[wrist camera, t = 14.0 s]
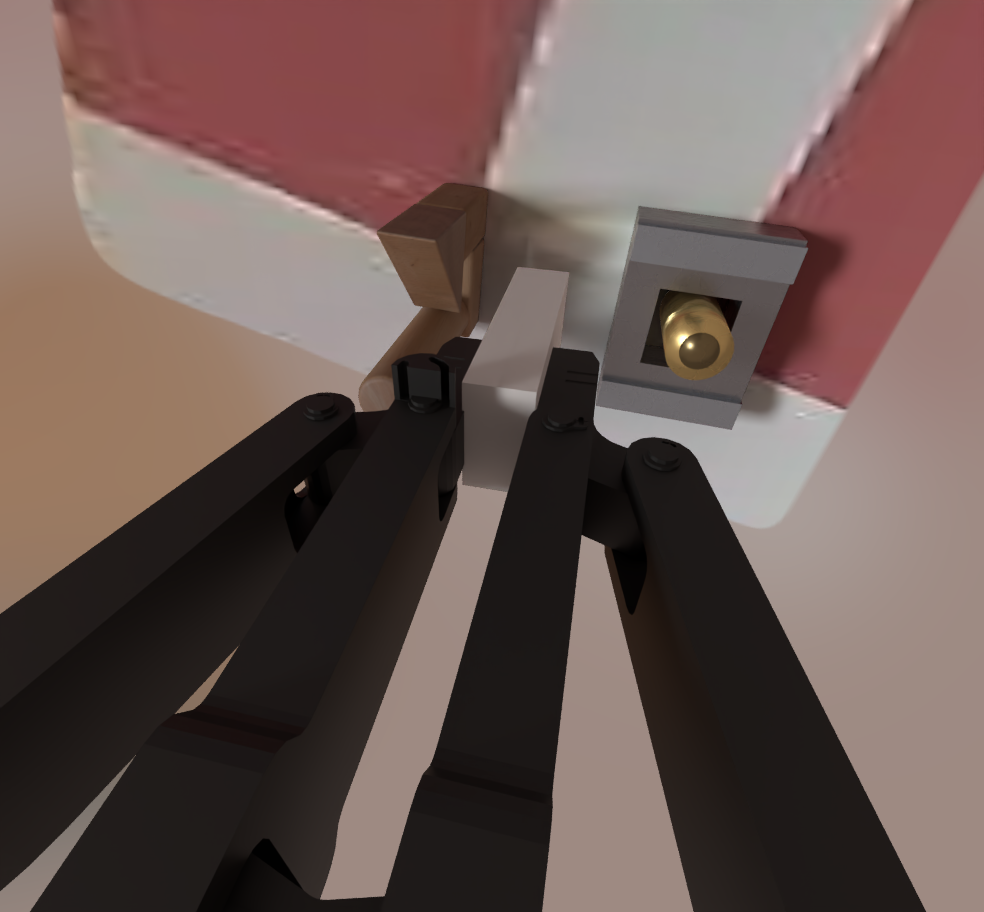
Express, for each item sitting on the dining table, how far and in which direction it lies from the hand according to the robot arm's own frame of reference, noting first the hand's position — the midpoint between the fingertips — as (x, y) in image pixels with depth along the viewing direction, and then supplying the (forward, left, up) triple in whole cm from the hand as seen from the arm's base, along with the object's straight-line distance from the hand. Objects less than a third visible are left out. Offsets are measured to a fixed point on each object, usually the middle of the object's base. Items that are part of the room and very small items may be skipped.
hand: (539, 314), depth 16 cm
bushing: (+10, +9, -29) cm, 31 cm away
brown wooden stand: (+8, -9, -29) cm, 31 cm away
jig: (+10, +9, -29) cm, 32 cm away
